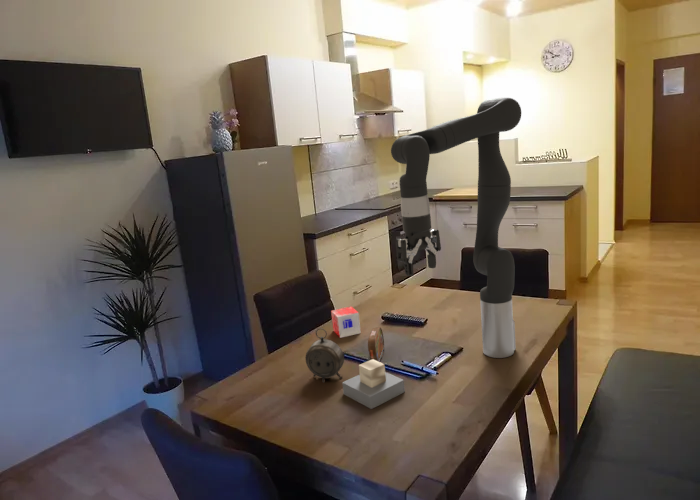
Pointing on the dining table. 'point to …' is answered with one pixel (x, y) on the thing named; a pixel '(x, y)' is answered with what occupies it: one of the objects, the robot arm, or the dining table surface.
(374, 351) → the tin
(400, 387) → the base block
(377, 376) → the birch cube
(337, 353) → the alarm clock
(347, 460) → the dining table surface
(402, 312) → the dining table surface
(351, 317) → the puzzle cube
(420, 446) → the dining table surface
